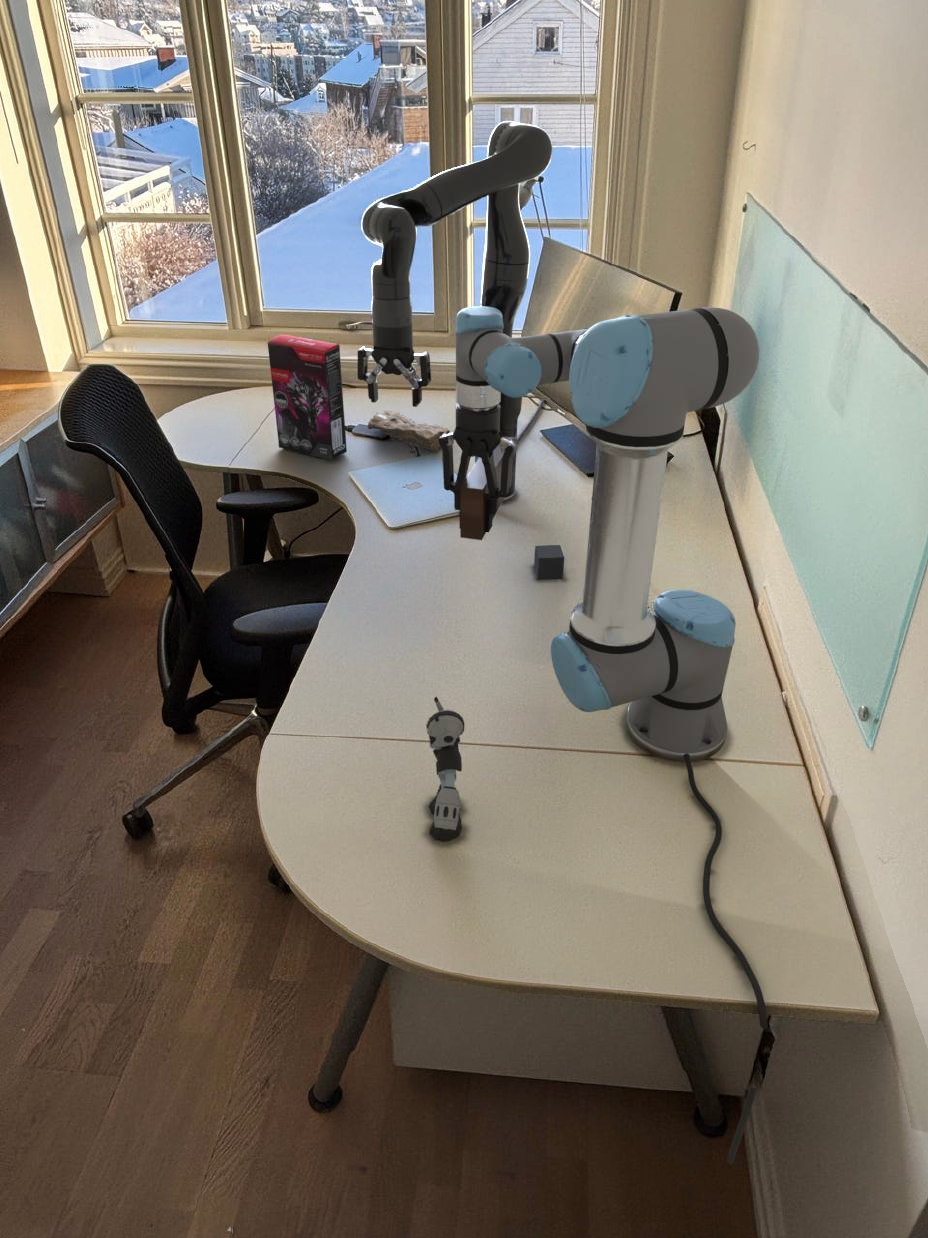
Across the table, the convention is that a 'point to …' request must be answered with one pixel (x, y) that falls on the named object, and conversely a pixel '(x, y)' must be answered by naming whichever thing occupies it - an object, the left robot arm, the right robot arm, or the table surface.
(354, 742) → the table surface
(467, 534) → the beam
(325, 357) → the graphics card box
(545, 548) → the grey block
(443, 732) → the robot
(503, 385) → the right robot arm
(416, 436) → the stone
